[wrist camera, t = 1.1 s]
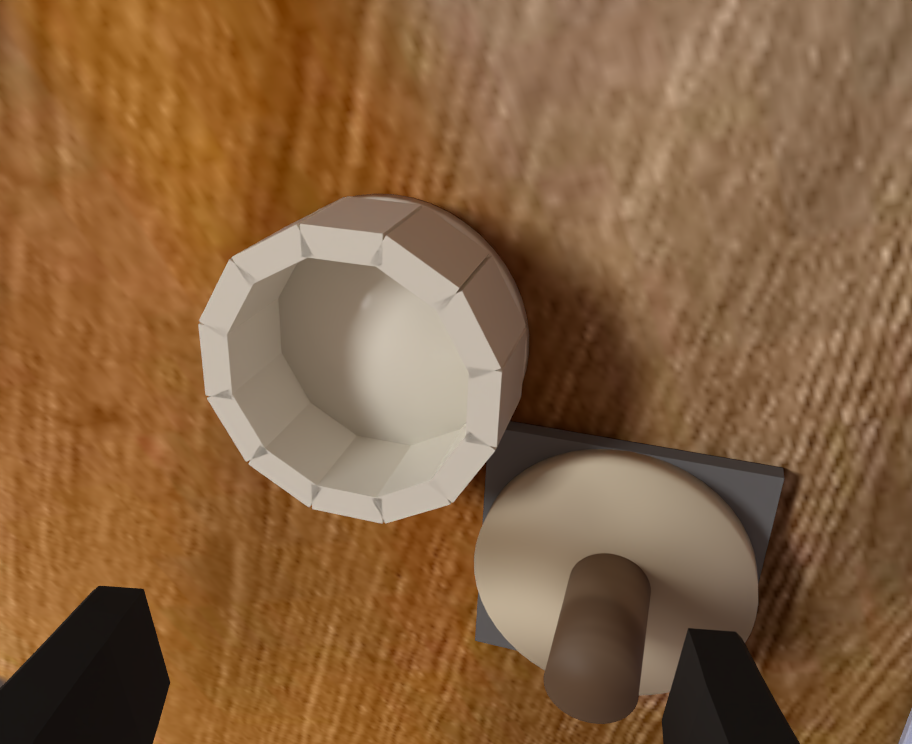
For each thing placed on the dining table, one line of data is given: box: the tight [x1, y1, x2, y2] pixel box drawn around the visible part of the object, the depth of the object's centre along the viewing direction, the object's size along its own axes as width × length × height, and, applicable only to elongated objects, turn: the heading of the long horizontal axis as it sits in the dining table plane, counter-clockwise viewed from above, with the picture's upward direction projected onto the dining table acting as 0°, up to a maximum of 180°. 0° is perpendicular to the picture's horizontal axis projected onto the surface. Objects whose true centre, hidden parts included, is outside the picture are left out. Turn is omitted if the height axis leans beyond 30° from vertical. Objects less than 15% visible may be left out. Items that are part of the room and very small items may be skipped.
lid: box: [474, 449, 758, 724], centre depth 25 cm, size 9×9×5 cm
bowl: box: [198, 194, 529, 523], centre depth 25 cm, size 9×9×4 cm
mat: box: [475, 421, 784, 650], centre depth 28 cm, size 9×9×1 cm
